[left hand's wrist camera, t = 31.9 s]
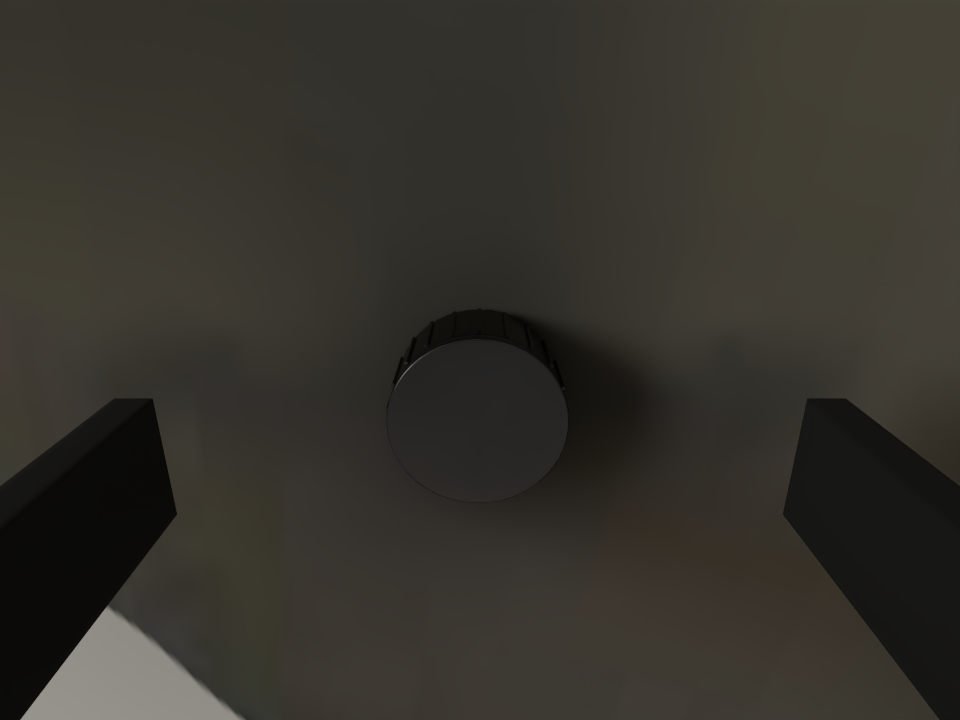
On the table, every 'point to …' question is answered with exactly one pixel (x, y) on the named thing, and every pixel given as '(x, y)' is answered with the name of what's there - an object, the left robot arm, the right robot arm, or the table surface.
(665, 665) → the table surface
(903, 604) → the left robot arm
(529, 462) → the cap
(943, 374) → the table surface
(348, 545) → the table surface
